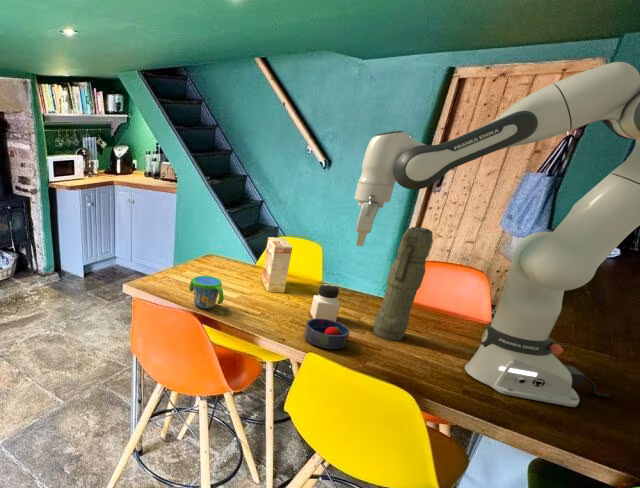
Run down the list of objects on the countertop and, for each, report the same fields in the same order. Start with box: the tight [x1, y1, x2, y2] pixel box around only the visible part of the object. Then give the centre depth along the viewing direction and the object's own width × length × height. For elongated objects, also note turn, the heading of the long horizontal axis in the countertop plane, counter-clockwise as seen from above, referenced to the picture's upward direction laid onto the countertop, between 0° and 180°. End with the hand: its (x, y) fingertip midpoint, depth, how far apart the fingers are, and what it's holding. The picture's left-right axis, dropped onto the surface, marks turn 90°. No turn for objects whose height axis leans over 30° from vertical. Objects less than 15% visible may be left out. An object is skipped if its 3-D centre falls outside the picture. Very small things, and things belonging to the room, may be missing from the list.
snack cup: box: [188, 275, 224, 310], centre depth 149 cm, size 16×10×10 cm
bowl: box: [303, 318, 351, 350], centre depth 126 cm, size 12×12×5 cm
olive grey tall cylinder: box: [372, 226, 434, 342], centre depth 125 cm, size 9×12×35 cm
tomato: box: [325, 327, 341, 336], centre depth 126 cm, size 4×4×4 cm
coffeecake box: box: [261, 236, 293, 293], centre depth 168 cm, size 15×7×20 cm, turn 172°
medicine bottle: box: [309, 283, 341, 322], centre depth 141 cm, size 7×7×12 cm
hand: (360, 242), depth 118 cm, fingers open, 8 cm apart
